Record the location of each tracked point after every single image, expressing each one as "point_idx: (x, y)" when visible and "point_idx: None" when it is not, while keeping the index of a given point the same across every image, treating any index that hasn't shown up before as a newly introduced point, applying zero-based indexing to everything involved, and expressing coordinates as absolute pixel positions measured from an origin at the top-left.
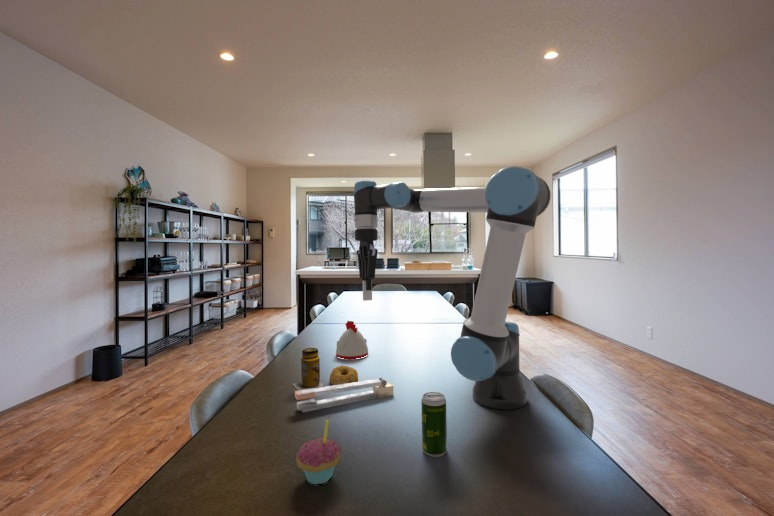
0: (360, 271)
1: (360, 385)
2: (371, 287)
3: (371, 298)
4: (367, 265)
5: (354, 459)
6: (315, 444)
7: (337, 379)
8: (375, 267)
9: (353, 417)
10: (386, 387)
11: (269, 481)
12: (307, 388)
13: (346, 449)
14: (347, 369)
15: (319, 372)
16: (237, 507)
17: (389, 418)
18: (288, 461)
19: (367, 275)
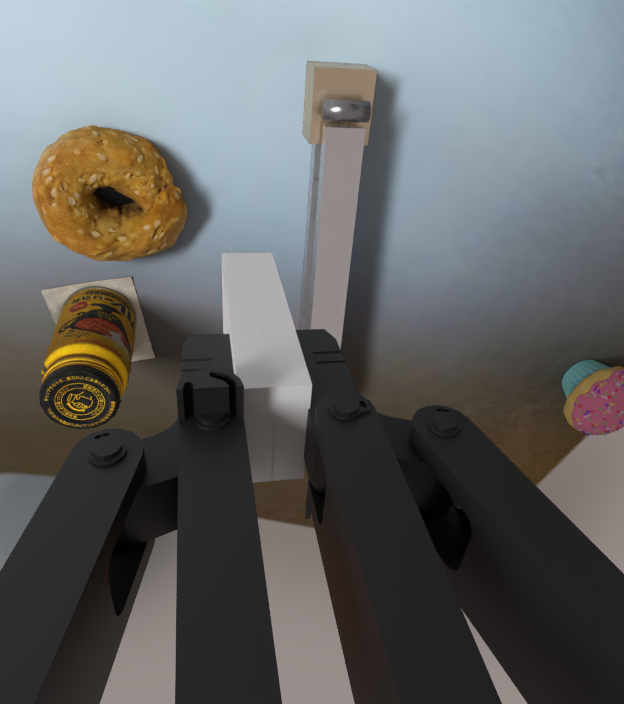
0: (127, 616)
1: (354, 223)
2: (291, 329)
3: (274, 267)
4: (523, 684)
5: (583, 315)
6: (620, 421)
7: (164, 246)
8: (598, 550)
9: (429, 262)
10: (372, 105)
11: (532, 436)
12: (137, 332)
13: (544, 319)
14: (86, 184)
15: (107, 312)
16: (553, 466)
17: (502, 172)
18: (503, 411)
19: (439, 525)
